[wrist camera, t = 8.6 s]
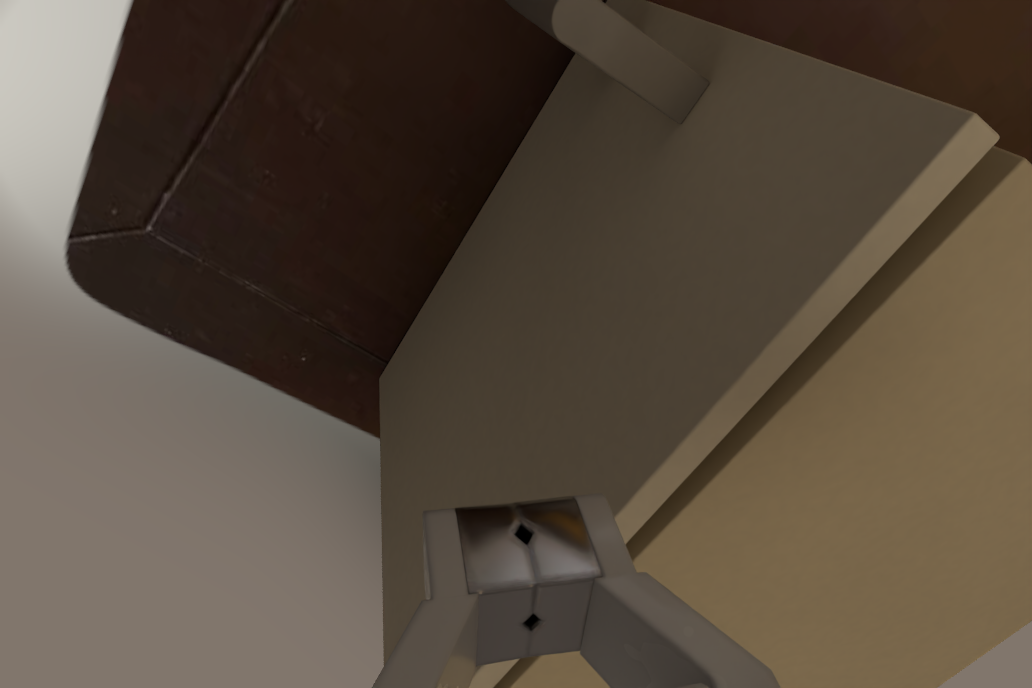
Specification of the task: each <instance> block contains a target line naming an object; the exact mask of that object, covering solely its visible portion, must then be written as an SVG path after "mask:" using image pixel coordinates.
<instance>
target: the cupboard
mask: <svg viewBox="0 0 1032 688" xmlns="http://www.w3.org/2000/svg"><path fill="white" fill-rule="evenodd" d="M625 545H626V547H627V549H628V552H629V554H630V557H631V559H632V562H633V564H634V566H635V569H636V571H637V573H639V572H647V573H648V574H649V575H650V576H652V577H653V578H654V579H656V580H657V581H658V582H659V583H661V584H662V585H663V586H665V587H666V588H667V589H668V590H670V591H671V592H672V593H674V594H675V595H676V596H677V597H679V598H680V599H681V600H683V601H684V602H685V603H686V604H688V605H689V606H690V607H692V608H693V609H694V610H695V611H697V612H698V613H699V614H701V615H702V616H703V617H704V618H706V619H707V620H708V621H710V622H711V623H712V624H713V625H715V626H716V627H717V628H718V629H720V630H721V631H722V632H724V633H725V634H726V635H727V636H729V637H730V638H731V639H733V640H734V641H735V642H736V643H738V644H739V645H740V646H742V647H743V648H744V649H745V650H747V651H748V652H749V653H751V654H752V655H753V656H754V657H756V658H757V659H758V660H760V661H761V662H762V663H763V664H765V665H766V666H767V667H769V668H770V669H771V670H772V672H773V674H774V676H775V678H776V680H777V681H778V683H779V685H780V687H781V688H937V687H938V686H940V685H941V684H943V683H944V682H945V681H947V680H948V679H950V678H951V677H953V676H954V675H956V674H957V673H958V672H960V671H961V670H962V669H964V668H965V667H967V666H968V665H970V664H971V663H973V662H974V661H975V660H977V659H978V658H980V657H981V656H983V655H984V654H985V653H987V652H988V651H990V650H991V649H992V648H994V647H995V646H997V645H998V644H1000V643H1001V642H1002V641H1004V640H1005V639H1007V638H1008V637H1009V636H1011V635H1012V634H1014V633H1015V632H1016V631H1018V630H1019V629H1021V628H1022V627H1024V626H1025V625H1027V624H1028V623H1029V622H1031V621H1032V164H1031V163H1030V162H1029V161H1028V160H1027V159H1026V158H1023V157H1021V156H1018V155H1016V154H1013V153H1010V152H1008V151H1005V150H1003V149H1000V148H997V147H995V146H992V148H991V149H990V150H989V151H988V152H987V153H986V154H985V155H984V156H983V157H982V158H981V159H980V161H979V162H978V163H977V164H976V165H975V166H974V167H973V168H972V169H971V170H970V171H969V172H968V174H967V175H966V176H965V177H964V178H963V179H962V180H961V181H960V182H959V183H958V184H957V185H956V187H955V188H954V189H953V190H952V191H951V192H950V193H949V194H948V195H947V196H946V197H945V198H944V200H943V201H942V202H941V203H940V204H939V205H938V206H937V207H936V208H935V209H934V210H933V211H932V213H931V214H930V215H929V216H928V217H927V218H926V219H925V220H924V221H923V222H922V223H921V224H920V226H919V227H918V228H917V229H916V230H915V231H914V232H913V233H912V234H911V235H910V236H909V237H908V239H907V240H906V241H905V242H904V243H903V244H902V245H901V246H900V247H899V248H898V249H897V250H896V252H895V253H894V254H893V255H892V256H891V257H890V258H889V259H888V260H887V261H886V262H885V264H884V265H883V266H882V267H881V268H880V269H879V270H878V271H877V272H876V273H875V274H874V275H873V277H872V278H871V279H870V280H869V281H868V282H867V283H866V284H865V285H864V286H863V287H862V288H861V290H860V291H859V292H858V293H857V294H856V295H855V296H854V297H853V298H852V299H851V300H850V301H849V303H848V304H847V305H846V306H845V307H844V308H843V309H842V310H841V311H840V312H839V313H838V314H837V316H836V317H835V318H834V319H833V320H832V321H831V322H830V323H829V324H828V325H827V326H826V327H825V329H824V330H823V331H822V332H821V333H820V334H819V335H818V336H817V337H816V338H815V339H814V340H813V342H812V343H811V344H810V345H809V346H808V347H807V348H806V349H805V350H804V351H803V352H802V353H801V355H800V356H799V357H798V358H797V359H796V360H795V361H794V362H793V363H792V364H791V365H790V366H789V368H788V369H787V370H786V371H785V372H784V373H783V374H782V375H781V376H780V377H779V378H778V379H777V381H776V382H775V383H774V384H773V385H772V386H771V387H770V388H769V389H768V390H767V391H766V393H765V394H764V395H763V396H762V397H761V398H760V399H759V400H758V401H757V402H756V403H755V404H754V406H753V407H752V408H751V409H750V410H749V411H748V412H747V413H746V414H745V415H744V416H743V417H742V419H741V420H740V421H739V422H738V423H737V424H736V425H735V426H734V427H733V428H732V429H731V430H730V432H729V433H728V434H727V435H726V436H725V437H724V438H723V439H722V440H721V441H720V442H719V443H718V445H717V446H716V447H715V448H714V449H713V450H712V451H711V452H710V453H709V454H708V455H707V456H706V458H705V459H704V460H703V461H702V462H701V463H700V464H699V465H698V466H697V467H696V468H695V469H694V471H693V472H692V473H691V474H690V475H689V476H688V477H687V478H686V479H685V480H684V481H683V482H682V484H681V485H680V486H679V487H678V488H677V489H676V490H675V491H674V492H673V493H672V494H671V495H670V497H669V498H668V499H667V500H666V501H665V502H664V503H663V504H662V505H661V506H660V507H659V508H658V510H657V511H656V512H655V513H654V514H653V515H652V516H651V517H650V518H649V519H648V520H647V522H646V523H645V524H644V525H643V526H642V527H641V528H640V529H639V530H638V531H637V532H636V533H635V535H634V536H633V537H632V538H631V539H630V540H629V541H628V542H627V543H626V544H625ZM493 688H610V687H609V686H608V684H607V683H606V682H605V681H604V680H603V679H602V678H601V677H600V676H599V674H598V673H597V672H596V671H595V670H594V669H593V668H592V667H591V666H590V664H589V663H588V662H587V661H586V660H585V659H584V658H583V657H582V656H581V655H580V651H575V652H567V653H558V654H550V655H542V656H534V657H526V658H520V659H519V660H518V661H517V662H516V664H515V665H514V666H513V667H512V668H511V669H510V670H509V671H508V672H507V673H506V674H505V675H504V677H503V678H502V679H501V680H500V681H499V682H498V683H497V684H496V685H495V686H494V687H493Z"/></svg>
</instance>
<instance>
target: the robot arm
mask: <svg viewBox="0 0 1032 688" xmlns="http://www.w3.org/2000/svg"><path fill="white" fill-rule="evenodd" d="M422 517H423V560H424V583H425V597H426V600H423V601H421V603H420V604H419V606H418V608H417V610H416V611H415V613H414V615H413V617H412V618H411V620H410V622H409V624H408V625H407V627H406V629H405V631H404V632H403V634H402V636H401V638H400V639H399V641H398V643H397V645H396V646H395V648H394V650H393V652H392V653H391V655H390V657H389V659H388V660H387V662H386V664H385V666H384V667H383V669H382V671H381V673H380V674H379V676H378V678H377V680H376V681H375V683H374V685H373V687H372V688H469V686H470V684H471V681H472V679H473V676H474V674H475V671H476V666H481V665H487V664H492V663H498V662H504V661H509V660H515V659H520V658H526V657H534V656H542V655H550V654H558V653H567V652H575V651H580V655H581V656H582V657H583V658H584V659H585V660H586V661H587V662H588V663H589V664H590V666H591V667H592V668H593V669H594V670H595V671H596V672H597V673H598V674H599V676H600V677H601V678H602V679H603V680H604V681H605V682H606V683H607V684H608V686H609V687H610V688H781V687H780V685H779V683H778V681H777V680H776V678H775V676H774V674H773V672H772V670H771V669H770V668H769V667H767V666H766V665H765V664H763V663H762V662H761V661H760V660H758V659H757V658H756V657H754V656H753V655H752V654H751V653H749V652H748V651H747V650H745V649H744V648H743V647H742V646H740V645H739V644H738V643H736V642H735V641H734V640H733V639H731V638H730V637H729V636H727V635H726V634H725V633H724V632H722V631H721V630H720V629H718V628H717V627H716V626H715V625H713V624H712V623H711V622H710V621H708V620H707V619H706V618H704V617H703V616H702V615H701V614H699V613H698V612H697V611H695V610H694V609H693V608H692V607H690V606H689V605H688V604H686V603H685V602H684V601H683V600H681V599H680V598H679V597H677V596H676V595H675V594H674V593H672V592H671V591H670V590H668V589H667V588H666V587H665V586H663V585H662V584H661V583H659V582H658V581H657V580H656V579H654V578H653V577H652V576H650V575H649V574H648V573H647V572H639V573H637V571H636V569H635V566H634V564H633V562H632V559H631V557H630V554H629V552H628V549H627V547H626V545H625V542H624V540H623V537H622V535H621V533H620V530H619V528H618V525H617V523H616V521H615V518H614V516H613V513H612V511H611V508H610V506H609V504H608V501H607V499H606V497H605V496H604V495H603V494H602V493H596V494H587V495H577V496H572V497H571V496H565V497H556V498H548V499H539V500H530V501H522V502H513V503H510V504H497V505H484V506H472V507H459V508H455V510H454V508H451V509H439V510H427V511H423V514H422Z"/></svg>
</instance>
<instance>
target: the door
mask: <svg viewBox="0 0 1032 688" xmlns="http://www.w3.org/2000/svg"><path fill="white" fill-rule="evenodd" d="M505 1H506V2H507V4H508V5H509V6H510V7H512V8H513V9H514V10H516V11H517V12H519V13H520V14H521V15H523V16H524V17H526V18H527V19H528V20H530V21H531V22H533V23H534V24H535V25H537V26H538V27H540V28H541V29H542V30H544V31H545V32H546V33H548V34H549V35H551V36H552V37H553V38H555V39H556V40H558V41H559V42H560V43H562V44H563V45H565V46H566V47H568V48H569V49H570V50H572V51H573V52H575V55H574V56H573V58H572V60H571V61H570V63H569V65H568V66H567V68H566V70H565V71H564V73H563V75H562V76H561V78H560V80H559V81H558V83H557V85H556V86H555V88H554V90H553V91H552V93H551V95H550V96H549V98H548V100H547V101H546V103H545V105H544V106H543V108H542V110H541V111H540V113H539V115H538V116H537V118H536V120H535V121H534V123H533V124H532V126H531V128H530V129H529V131H528V133H527V134H526V136H525V138H524V139H523V141H522V143H521V144H520V146H519V148H518V149H517V151H516V153H515V154H514V156H513V158H512V159H511V161H510V163H509V164H508V166H507V168H506V169H505V171H504V173H503V174H502V176H501V178H500V179H499V181H498V183H497V184H496V186H495V188H494V189H493V191H492V192H491V194H490V196H489V197H488V199H487V201H486V202H485V204H484V206H483V207H482V209H481V211H480V212H479V214H478V216H477V217H476V219H475V221H474V222H473V224H472V226H471V227H470V229H469V231H468V232H467V234H466V236H465V237H464V239H463V241H462V242H461V244H460V246H459V247H458V249H457V251H456V252H455V254H454V256H453V257H452V259H451V260H450V262H449V264H448V265H447V267H446V269H445V270H444V272H443V274H442V275H441V277H440V279H439V280H438V282H437V284H436V285H435V287H434V289H433V290H432V292H431V294H430V295H429V297H428V299H427V300H426V302H425V304H424V305H423V307H422V309H421V310H420V312H419V314H418V315H417V317H416V319H415V320H414V322H413V324H412V325H411V327H410V328H409V330H408V332H407V333H406V335H405V337H404V338H403V340H402V342H401V343H400V345H399V347H398V348H397V350H396V352H395V353H394V355H393V357H392V358H391V360H390V362H389V363H388V365H387V367H386V368H385V370H384V372H383V373H382V375H381V377H380V378H379V391H380V451H381V514H382V571H383V572H382V578H383V640H384V666H385V664H386V662H387V660H388V659H389V657H390V655H391V653H392V652H393V650H394V648H395V646H396V645H397V643H398V641H399V639H400V638H401V636H402V634H403V632H404V631H405V629H406V627H407V625H408V624H409V622H410V620H411V618H412V617H413V615H414V613H415V611H416V610H417V608H418V606H419V604H420V603H421V601H423V600H426V597H425V583H424V560H423V517H422V514H423V511H427V510H439V509H451V508H454V510H455V508H459V507H472V506H484V505H497V504H510V503H513V502H522V501H530V500H539V499H548V498H556V497H565V496H571V497H572V496H577V495H587V494H596V493H602V494H603V495H604V496H605V497H606V499H607V501H608V504H609V506H610V508H611V511H612V513H613V516H614V518H615V521H616V523H617V525H618V528H619V530H620V533H621V535H622V537H623V540H624V542H625V544H626V543H627V542H628V541H629V540H630V539H631V538H632V537H633V536H634V535H635V533H636V532H637V531H638V530H639V529H640V528H641V527H642V526H643V525H644V524H645V523H646V522H647V520H648V519H649V518H650V517H651V516H652V515H653V514H654V513H655V512H656V511H657V510H658V508H659V507H660V506H661V505H662V504H663V503H664V502H665V501H666V500H667V499H668V498H669V497H670V495H671V494H672V493H673V492H674V491H675V490H676V489H677V488H678V487H679V486H680V485H681V484H682V482H683V481H684V480H685V479H686V478H687V477H688V476H689V475H690V474H691V473H692V472H693V471H694V469H695V468H696V467H697V466H698V465H699V464H700V463H701V462H702V461H703V460H704V459H705V458H706V456H707V455H708V454H709V453H710V452H711V451H712V450H713V449H714V448H715V447H716V446H717V445H718V443H719V442H720V441H721V440H722V439H723V438H724V437H725V436H726V435H727V434H728V433H729V432H730V430H731V429H732V428H733V427H734V426H735V425H736V424H737V423H738V422H739V421H740V420H741V419H742V417H743V416H744V415H745V414H746V413H747V412H748V411H749V410H750V409H751V408H752V407H753V406H754V404H755V403H756V402H757V401H758V400H759V399H760V398H761V397H762V396H763V395H764V394H765V393H766V391H767V390H768V389H769V388H770V387H771V386H772V385H773V384H774V383H775V382H776V381H777V379H778V378H779V377H780V376H781V375H782V374H783V373H784V372H785V371H786V370H787V369H788V368H789V366H790V365H791V364H792V363H793V362H794V361H795V360H796V359H797V358H798V357H799V356H800V355H801V353H802V352H803V351H804V350H805V349H806V348H807V347H808V346H809V345H810V344H811V343H812V342H813V340H814V339H815V338H816V337H817V336H818V335H819V334H820V333H821V332H822V331H823V330H824V329H825V327H826V326H827V325H828V324H829V323H830V322H831V321H832V320H833V319H834V318H835V317H836V316H837V314H838V313H839V312H840V311H841V310H842V309H843V308H844V307H845V306H846V305H847V304H848V303H849V301H850V300H851V299H852V298H853V297H854V296H855V295H856V294H857V293H858V292H859V291H860V290H861V288H862V287H863V286H864V285H865V284H866V283H867V282H868V281H869V280H870V279H871V278H872V277H873V275H874V274H875V273H876V272H877V271H878V270H879V269H880V268H881V267H882V266H883V265H884V264H885V262H886V261H887V260H888V259H889V258H890V257H891V256H892V255H893V254H894V253H895V252H896V250H897V249H898V248H899V247H900V246H901V245H902V244H903V243H904V242H905V241H906V240H907V239H908V237H909V236H910V235H911V234H912V233H913V232H914V231H915V230H916V229H917V228H918V227H919V226H920V224H921V223H922V222H923V221H924V220H925V219H926V218H927V217H928V216H929V215H930V214H931V213H932V211H933V210H934V209H935V208H936V207H937V206H938V205H939V204H940V203H941V202H942V201H943V200H944V198H945V197H946V196H947V195H948V194H949V193H950V192H951V191H952V190H953V189H954V188H955V187H956V185H957V184H958V183H959V182H960V181H961V180H962V179H963V178H964V177H965V176H966V175H967V174H968V172H969V171H970V170H971V169H972V168H973V167H974V166H975V165H976V164H977V163H978V162H979V161H980V159H981V158H982V157H983V156H984V155H985V154H986V153H987V152H988V151H989V150H990V149H991V148H992V146H993V145H994V144H995V143H996V142H997V141H998V140H999V138H1000V137H999V135H998V134H997V133H996V132H995V131H994V130H993V129H992V128H991V127H990V126H989V125H988V124H987V123H986V122H985V121H983V120H982V119H981V118H980V117H979V116H978V115H977V114H976V113H973V112H970V111H967V110H965V109H962V108H959V107H956V106H953V105H950V104H947V103H944V102H941V101H938V100H935V99H932V98H929V97H927V96H924V95H921V94H918V93H915V92H912V91H909V90H906V89H903V88H900V87H897V86H894V85H891V84H889V83H886V82H883V81H880V80H877V79H874V78H871V77H868V76H865V75H862V74H859V73H856V72H853V71H850V70H848V69H845V68H842V67H839V66H836V65H833V64H830V63H827V62H824V61H821V60H818V59H815V58H812V57H810V56H807V55H804V54H801V53H798V52H795V51H792V50H789V49H786V48H783V47H780V46H777V45H774V44H772V43H769V42H766V41H763V40H760V39H757V38H754V37H751V36H748V35H745V34H742V33H739V32H736V31H733V30H731V29H728V28H725V27H722V26H719V25H716V24H713V23H710V22H707V21H704V20H701V19H698V18H695V17H693V16H690V15H687V14H684V13H681V12H678V11H675V10H672V9H669V8H666V7H663V6H660V5H657V4H655V3H652V2H649V1H646V0H607V2H606V3H604V2H603V1H601V0H505ZM518 660H519V659H515V660H509V661H504V662H498V663H492V664H487V665H481V666H476V671H475V674H474V676H473V679H472V681H471V684H470V686H469V688H493V687H494V686H495V685H496V684H497V683H498V682H499V681H500V680H501V679H502V678H503V677H504V675H505V674H506V673H507V672H508V671H509V670H510V669H511V668H512V667H513V666H514V665H515V664H516V662H517V661H518Z"/></svg>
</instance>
